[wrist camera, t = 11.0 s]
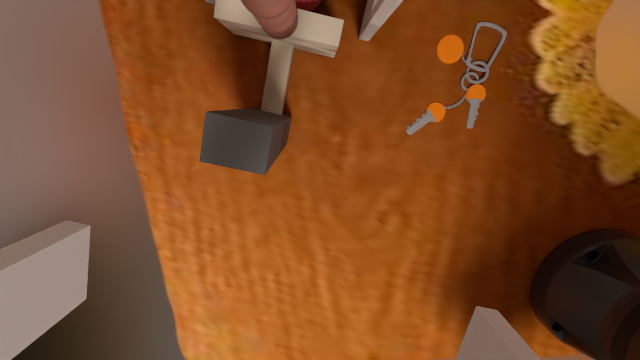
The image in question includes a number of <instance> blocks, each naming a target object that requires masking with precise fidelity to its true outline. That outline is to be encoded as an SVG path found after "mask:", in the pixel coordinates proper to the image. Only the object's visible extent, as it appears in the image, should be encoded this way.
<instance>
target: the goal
mask: <svg viewBox="0 0 640 360" xmlns="http://www.w3.org/2000/svg"><path fill="white" fill-rule="evenodd" d="M205 1H206V2H208V3H212V4H215V1H216V0H205ZM402 1H403V0H367V4H366V8H365V13H364V17H363V21H362V26H361V30H360V34H359V39H360V40H365V41H369V40H370V39H371V38H372V36H373V35H374V34H375V33H376V32H377V30H378V29H379V28H380V27H381V26H382V25H383V23H384V22H385V21H386V20H387V19H388V18H389V16H390V15H391V14H392V13H393V12H394V11H395V9H396V8H397V7H398V6H399V5H400V4H401V2H402Z"/></svg>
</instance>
